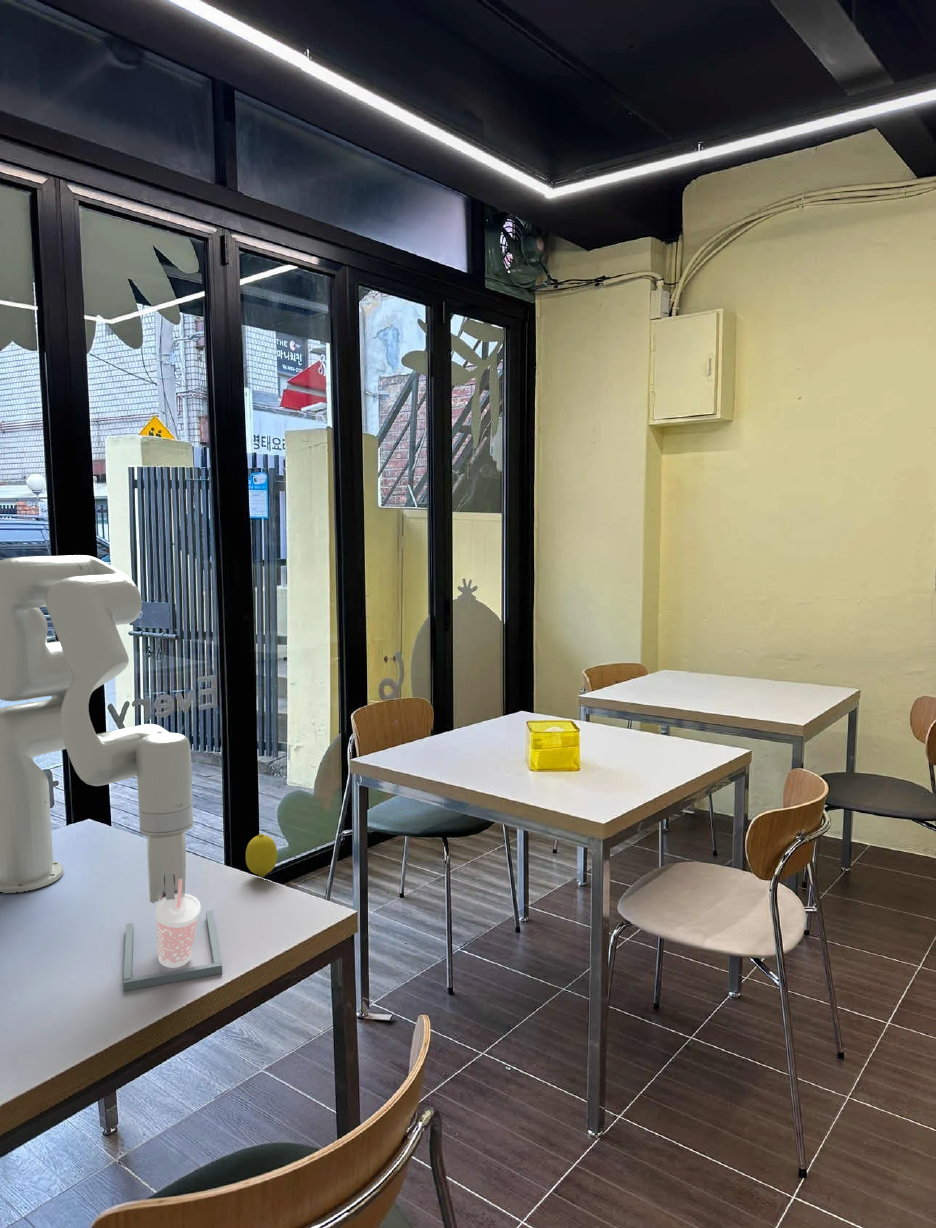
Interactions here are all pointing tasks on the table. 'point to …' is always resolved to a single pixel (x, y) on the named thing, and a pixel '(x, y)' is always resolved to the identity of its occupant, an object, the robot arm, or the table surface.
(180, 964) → the beverage cup
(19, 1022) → the table surface
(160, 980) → the slate channel
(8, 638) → the robot arm
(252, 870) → the lemon
